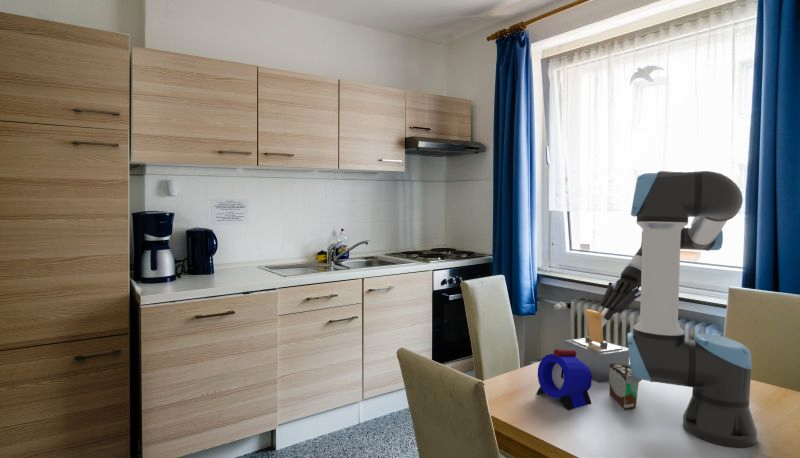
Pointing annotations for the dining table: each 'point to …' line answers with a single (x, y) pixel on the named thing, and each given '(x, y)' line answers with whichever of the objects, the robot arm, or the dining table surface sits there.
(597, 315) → the lever
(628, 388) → the food container
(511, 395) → the dining table surface
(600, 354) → the box
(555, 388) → the alarm clock
